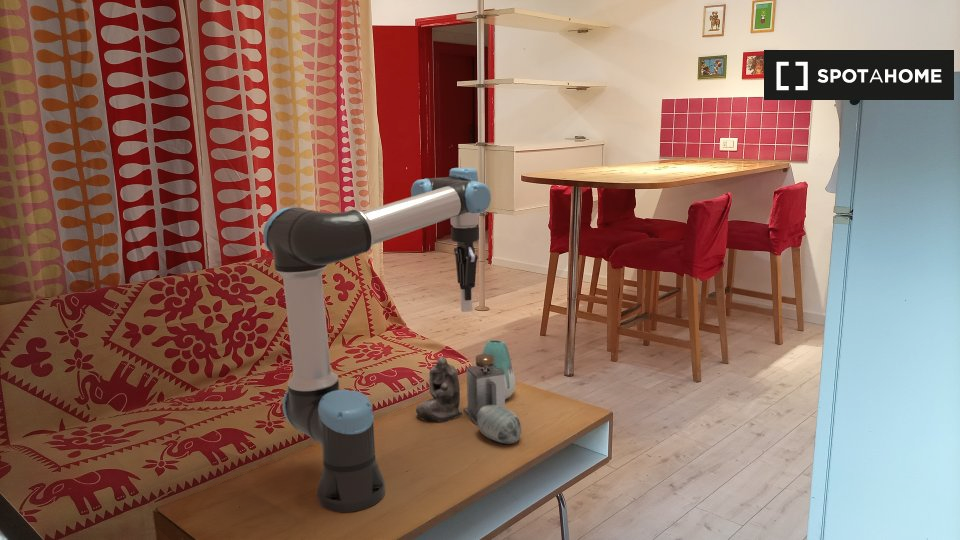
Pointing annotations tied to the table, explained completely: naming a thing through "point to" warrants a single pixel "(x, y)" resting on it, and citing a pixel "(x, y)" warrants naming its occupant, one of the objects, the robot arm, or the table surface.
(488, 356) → the plunger
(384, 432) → the table surface
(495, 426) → the striped grey egg shape
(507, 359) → the vase
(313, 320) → the robot arm
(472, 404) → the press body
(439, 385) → the figurine
